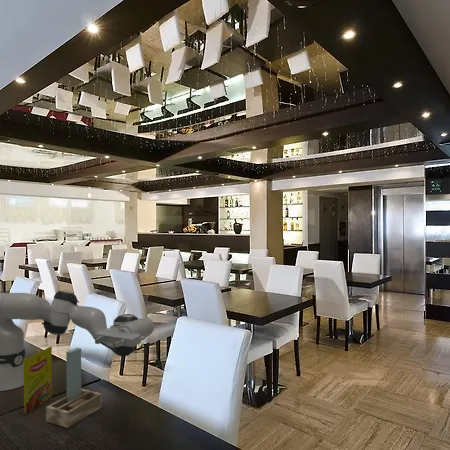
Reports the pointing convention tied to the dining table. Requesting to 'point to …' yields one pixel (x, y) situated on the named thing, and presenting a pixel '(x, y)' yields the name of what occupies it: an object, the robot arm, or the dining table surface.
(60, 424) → the slot rack
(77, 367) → the blue-grey rectangular bar
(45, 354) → the food package
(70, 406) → the upper offcut
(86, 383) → the dining table surface
